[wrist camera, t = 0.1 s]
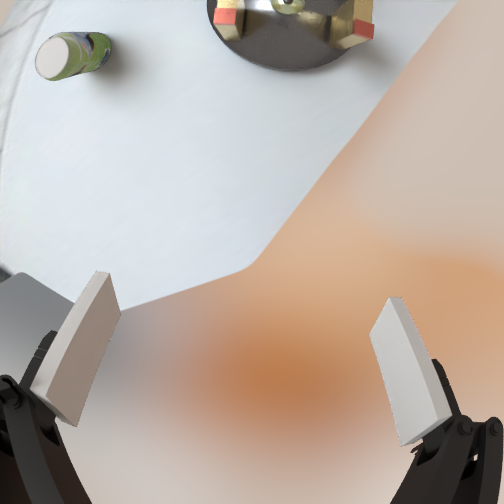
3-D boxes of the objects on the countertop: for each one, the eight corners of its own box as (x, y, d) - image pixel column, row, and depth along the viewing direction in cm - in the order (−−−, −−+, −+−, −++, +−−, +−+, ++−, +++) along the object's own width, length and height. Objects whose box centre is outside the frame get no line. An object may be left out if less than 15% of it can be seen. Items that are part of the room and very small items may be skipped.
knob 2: (331, 14, 23) (357, -9, 14) (345, 17, 23) (376, -3, 14) (328, 46, 25) (354, 33, 17) (342, 49, 25) (372, 39, 17)
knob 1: (229, 7, 23) (219, -21, 14) (245, 7, 23) (240, -20, 14) (225, 40, 25) (213, 23, 17) (240, 41, 25) (234, 23, 17)
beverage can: (97, 27, 24) (45, 17, 14) (127, 49, 27) (79, 42, 17) (72, 61, 26) (18, 64, 16) (100, 84, 29) (48, 91, 19)
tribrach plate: (218, -50, 18) (215, -59, 16) (361, -29, 19) (368, -36, 17) (202, 64, 29) (197, 63, 26) (350, 83, 30) (357, 83, 27)
